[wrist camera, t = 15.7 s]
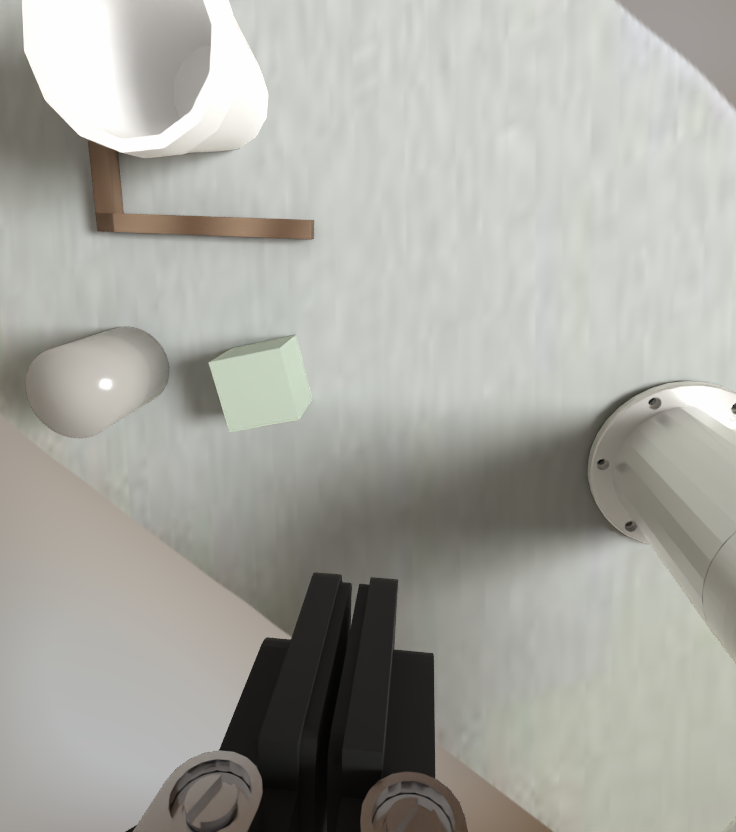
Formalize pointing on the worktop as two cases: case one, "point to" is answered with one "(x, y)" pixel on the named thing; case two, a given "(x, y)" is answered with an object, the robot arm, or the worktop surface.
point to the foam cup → (147, 73)
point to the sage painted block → (261, 383)
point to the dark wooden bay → (116, 221)
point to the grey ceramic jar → (96, 380)
